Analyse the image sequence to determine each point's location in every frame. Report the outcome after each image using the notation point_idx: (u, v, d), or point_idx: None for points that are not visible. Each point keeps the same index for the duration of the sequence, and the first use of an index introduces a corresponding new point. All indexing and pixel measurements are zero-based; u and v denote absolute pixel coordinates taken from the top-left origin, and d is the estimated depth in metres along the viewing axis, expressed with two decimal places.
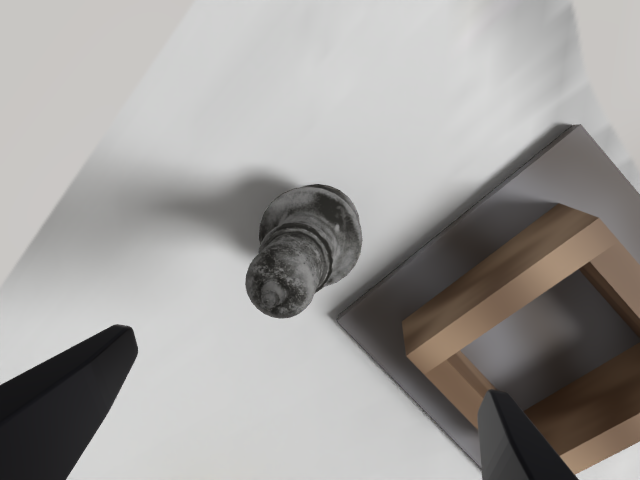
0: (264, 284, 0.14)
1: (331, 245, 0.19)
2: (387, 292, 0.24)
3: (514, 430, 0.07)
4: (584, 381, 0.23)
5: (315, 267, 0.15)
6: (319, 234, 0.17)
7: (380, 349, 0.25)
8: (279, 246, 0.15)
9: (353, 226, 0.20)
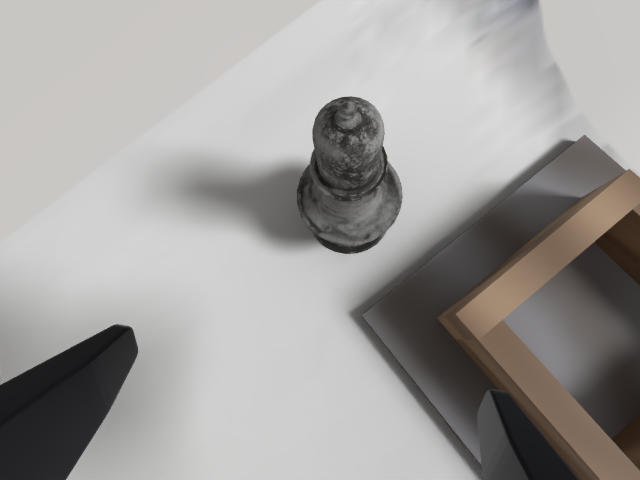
0: None
1: None
2: (420, 281, 0.22)
3: (514, 430, 0.07)
4: None
5: None
6: None
7: (412, 354, 0.21)
8: None
9: (394, 182, 0.21)
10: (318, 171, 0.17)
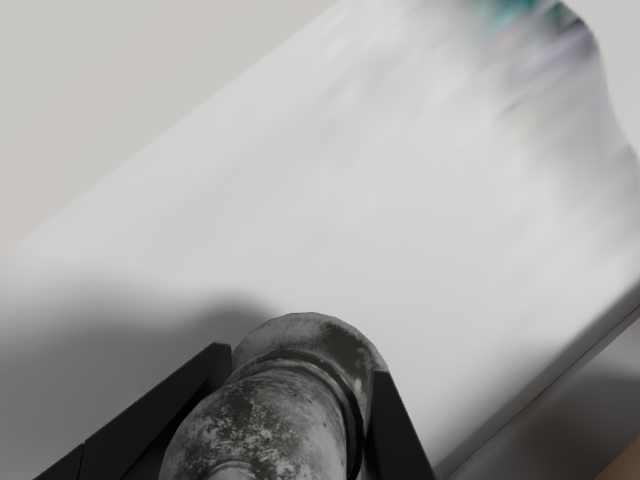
0: (211, 474, 0.05)
1: None
2: None
3: (380, 405, 0.08)
4: None
5: (342, 444, 0.06)
6: (341, 378, 0.08)
7: None
8: (266, 377, 0.06)
9: None
10: None
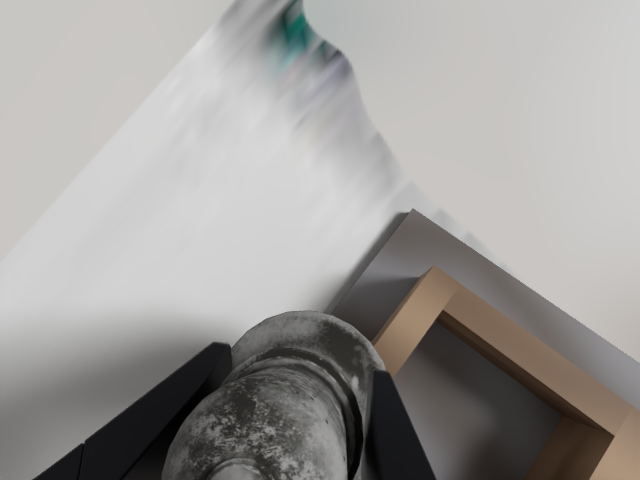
0: (216, 472, 0.05)
1: None
2: None
3: (380, 405, 0.08)
4: None
5: (343, 440, 0.06)
6: (340, 376, 0.08)
7: None
8: (267, 375, 0.06)
9: None
10: None
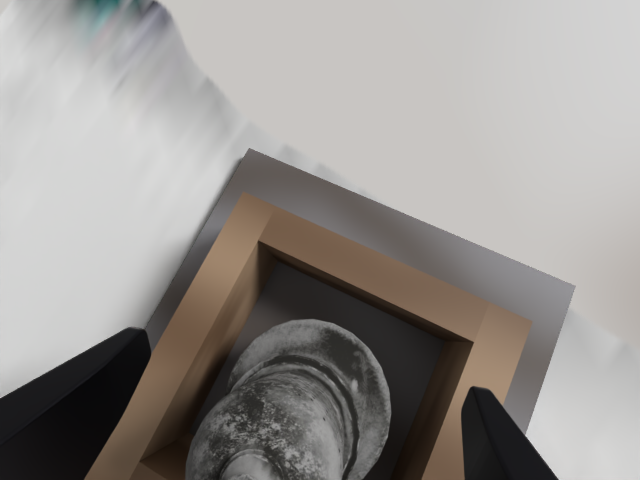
0: (232, 460, 0.06)
1: None
2: None
3: (494, 426, 0.07)
4: (411, 432, 0.15)
5: (339, 436, 0.07)
6: (338, 379, 0.09)
7: None
8: (273, 380, 0.07)
9: (378, 387, 0.13)
10: None
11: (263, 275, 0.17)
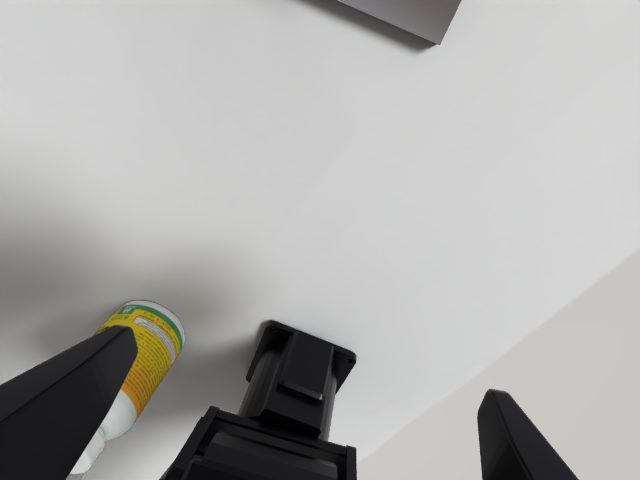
0: None
1: None
2: None
3: (514, 430, 0.07)
4: None
5: None
6: None
7: None
8: None
9: None
10: None
11: None
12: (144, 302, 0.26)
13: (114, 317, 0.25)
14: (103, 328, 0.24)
